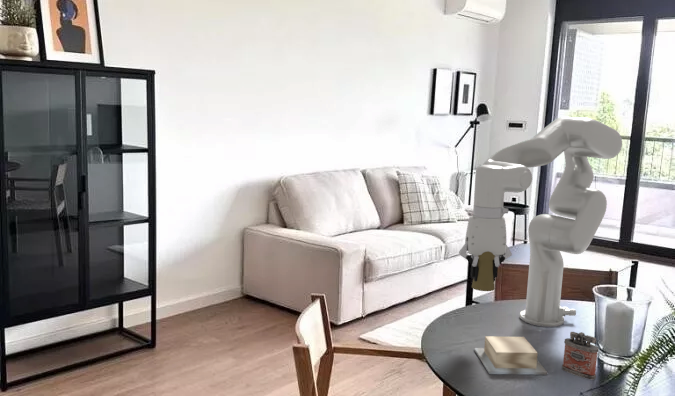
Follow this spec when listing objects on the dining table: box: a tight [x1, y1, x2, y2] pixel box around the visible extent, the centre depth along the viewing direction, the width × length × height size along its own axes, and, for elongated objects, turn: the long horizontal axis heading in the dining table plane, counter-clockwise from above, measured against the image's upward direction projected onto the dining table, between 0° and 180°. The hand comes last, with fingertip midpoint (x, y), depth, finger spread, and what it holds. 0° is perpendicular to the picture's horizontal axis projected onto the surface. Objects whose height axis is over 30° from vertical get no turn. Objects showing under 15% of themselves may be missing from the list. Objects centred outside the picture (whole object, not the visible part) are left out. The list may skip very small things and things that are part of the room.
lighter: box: [561, 331, 599, 381], centre depth 151 cm, size 8×3×10 cm, turn 44°
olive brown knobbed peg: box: [471, 251, 496, 292], centre depth 167 cm, size 6×6×11 cm
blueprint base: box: [473, 335, 548, 376], centre depth 157 cm, size 14×14×5 cm
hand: (483, 279), depth 168 cm, fingers closed on olive brown knobbed peg, 4 cm apart
